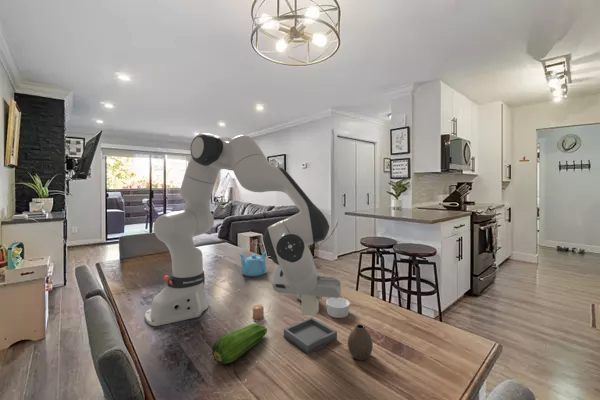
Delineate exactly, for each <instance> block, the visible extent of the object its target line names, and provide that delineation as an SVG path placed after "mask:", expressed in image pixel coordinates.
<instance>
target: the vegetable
mask: <svg viewBox="0 0 600 400" xmlns="http://www.w3.org/2000/svg"><path fill="white" fill-rule="evenodd" d="M267 332H268V328H267V327H266V326H263V325H261V324H258V323H251V324H249V325H245V326H244V327H241V328H238V329H237V330H236V329H234V330H233V331H231V332H227V333H226V334H223V336H221V337H219V338H218V339H217V340H216V341H214V343H213V345H212V349H211V355H212V357H213V360H214V361H215V362H216V363H217V364H220V365H222V366H223V365H228V364H231V363H233V362H235V361H237V360H238V358H240V357H241V356H242V355H243V354H245V353H247V351H249V350H250V349H251V348H253V346H255V345H257V344H258V343H260V342H261V341H262V340H263V339H264V337H265V336H266V335H267Z"/></svg>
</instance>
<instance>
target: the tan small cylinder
mask: <svg viewBox="0 0 600 400" xmlns="http://www.w3.org/2000/svg"><path fill="white" fill-rule="evenodd" d="M264 315H265V311H264V305H261V304H256V305H253V306H252V320H254V321H256V320H257V322H258V321H262V320H264V318H265V316H264Z"/></svg>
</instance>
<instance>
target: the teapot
mask: <svg viewBox="0 0 600 400" xmlns="http://www.w3.org/2000/svg"><path fill="white" fill-rule="evenodd" d="M266 253H267V251H266V250H265V251H264V252H263V253H262V254H261V256H259V255H257V254H251V255H250V256H248V257H246V258H245V255H244V254H243V253H241V252H240V253H239V252H238V255H240V258H241V259H240V261H241V273H242V274H243V275H244V276H246V277H252V278H254V277H260V276H263V275H264V274H266V273H267V265H266V256H265V255H266Z"/></svg>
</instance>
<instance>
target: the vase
mask: <svg viewBox="0 0 600 400" xmlns="http://www.w3.org/2000/svg"><path fill="white" fill-rule="evenodd" d="M373 346H374V345H373V339H372V336H371V335H370V333H369V331H368V330H367V329H366V327H365V325H363V324H356V325H355V327H354V328H353V329H352V330H351V332H350V334H349V335H348V338H347V348H348V351H349V353H350V355H351V356H352V357H353V358H354V359H355V360H358V361H364V360H367V359H368V358H369V357H371V354H372V351H373Z"/></svg>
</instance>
